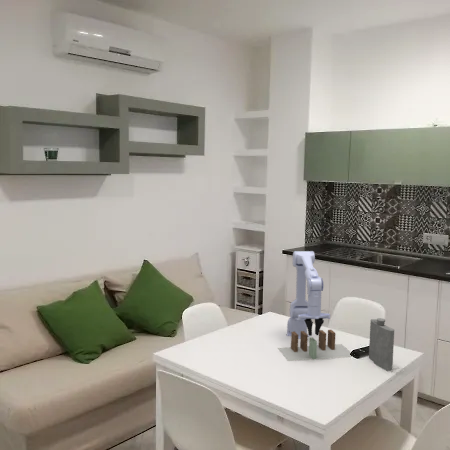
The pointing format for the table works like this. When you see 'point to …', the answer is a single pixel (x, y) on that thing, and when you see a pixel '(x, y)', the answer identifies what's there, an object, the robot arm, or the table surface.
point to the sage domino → (312, 348)
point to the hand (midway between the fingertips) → (313, 334)
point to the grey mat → (325, 354)
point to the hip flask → (381, 344)
